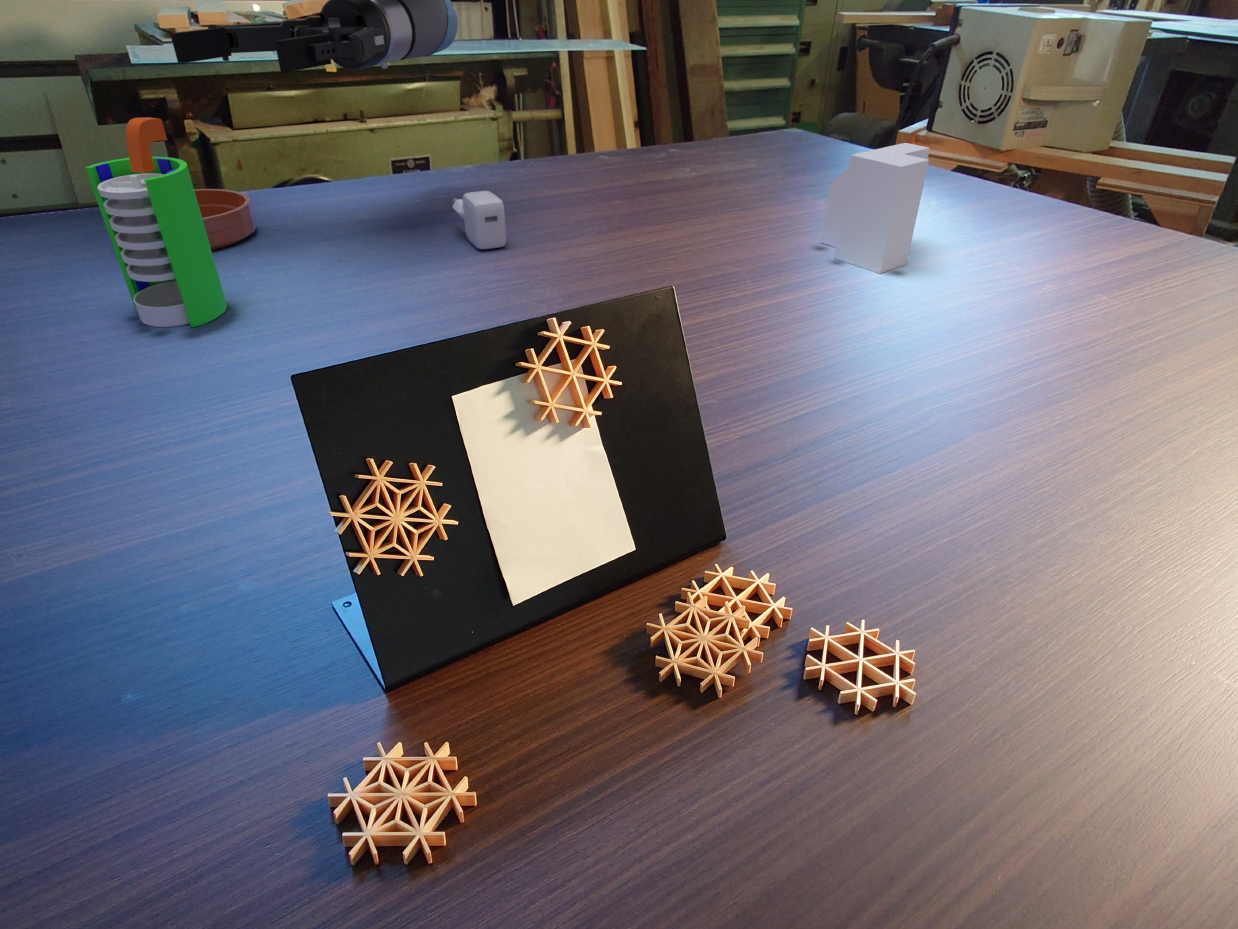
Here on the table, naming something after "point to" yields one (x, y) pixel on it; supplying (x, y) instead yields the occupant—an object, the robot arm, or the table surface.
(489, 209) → the power adapter
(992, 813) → the table surface
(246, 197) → the bowl
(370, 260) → the table surface
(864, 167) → the white notched block
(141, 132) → the green-shelled ribbed roller
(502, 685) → the table surface
